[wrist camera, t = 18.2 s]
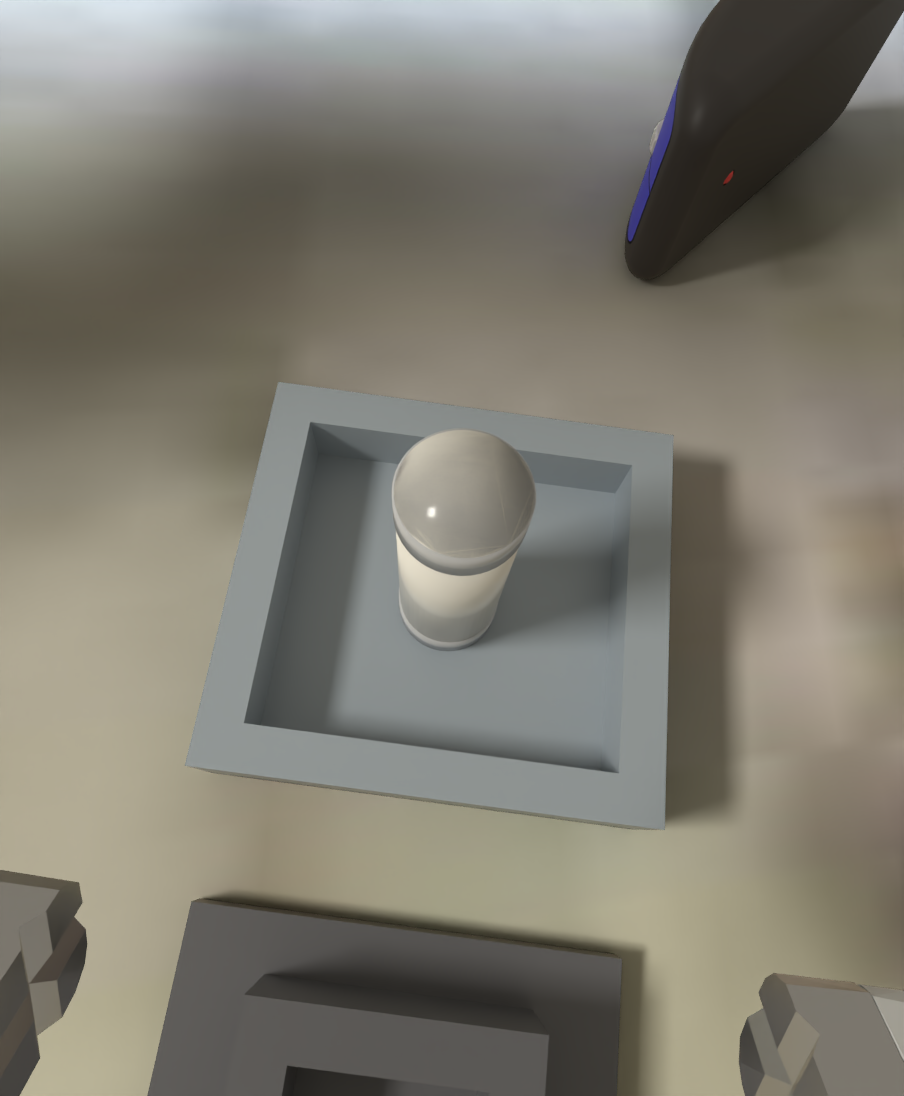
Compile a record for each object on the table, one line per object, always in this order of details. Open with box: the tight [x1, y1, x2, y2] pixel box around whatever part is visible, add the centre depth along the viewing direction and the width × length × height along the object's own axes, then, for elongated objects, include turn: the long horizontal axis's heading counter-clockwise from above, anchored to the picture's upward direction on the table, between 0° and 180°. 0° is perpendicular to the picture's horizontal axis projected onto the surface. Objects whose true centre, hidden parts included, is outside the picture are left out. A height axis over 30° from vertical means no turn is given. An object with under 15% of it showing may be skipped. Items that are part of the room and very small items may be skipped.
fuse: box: [392, 428, 536, 651], centre depth 23 cm, size 4×4×10 cm
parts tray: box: [185, 382, 673, 830], centre depth 27 cm, size 15×14×4 cm
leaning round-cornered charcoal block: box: [625, 0, 904, 279], centre depth 33 cm, size 16×5×9 cm, turn 135°
